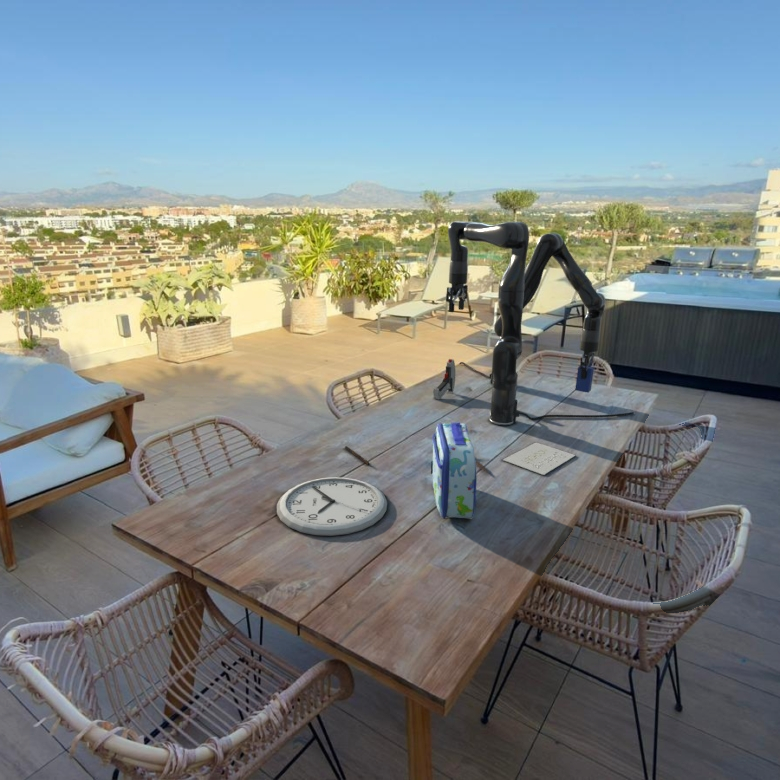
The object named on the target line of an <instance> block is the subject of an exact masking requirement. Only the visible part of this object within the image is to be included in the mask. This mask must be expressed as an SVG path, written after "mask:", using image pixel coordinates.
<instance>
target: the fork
mask: <svg viewBox="0 0 780 780" xmlns="http://www.w3.org/2000/svg"><path fill="white" fill-rule="evenodd" d="M475 461H476V466H477V467H479V468H480V469H481V470H482V471H483V472H485V473H486V474H488V470H486V468H485V467H484V466H483V464H482V463H480V462H479V461H477V460H476V459H475Z"/></svg>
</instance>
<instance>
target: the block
mask: <svg viewBox="0 0 780 780" xmlns="http://www.w3.org/2000/svg"><path fill="white" fill-rule="evenodd" d="M583 367H584V368H585V366H583ZM594 370H595V367H594V366H591V367H589V366H588V370H587V375H586V379H581V371H582V370H580V365H578V367H577V373H576V381H575V388H574V391H578V392H583V393H590V392H591V390H592V384H593V377H594Z"/></svg>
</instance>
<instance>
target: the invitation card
mask: <svg viewBox="0 0 780 780" xmlns="http://www.w3.org/2000/svg"><path fill="white" fill-rule="evenodd" d="M576 456H577V455H576V454H573V453H570V452H567V451H565V450H561V449H558V448H555V447H552V446H549V445H546V444H543V443H539V442H534V443H532V444H529V445H528V446H526V447H524V448H522V449H520V450H518V451H516V452H514V453H512V454H510V455H509V456H507V457H505V458H503V459H502V461H503V462H506V463H509V464H511V465H514V466H518V467H520V468H523V469H525V470H528V471H531V472H534V473H536V474H539V475H541V476H545V475H547V474H548V473H550V472H552V471H554V469H556V468H558V467H559V466H561V465H563V464H564V463H566V462H568V461H570V460H571V459H572V458H574V457H576Z"/></svg>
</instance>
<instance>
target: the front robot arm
mask: <svg viewBox="0 0 780 780" xmlns="http://www.w3.org/2000/svg"><path fill="white" fill-rule="evenodd" d="M447 238H448V242H449V248H450V263H449V268H448V270H449V271H448V272H449V273H448V283H449V284H451V286H447V287H446V297H445V302H447V303H448V312H449V313H454V312H455V302H456V300H457V299H458V310H460V311H463V310H464V309H465V301H466V300H467V299H468V292H469V291H468V289H469V287H468V285H467V283H468V272H469V271H468V270H469V269H468V268H469V265H468V259H469V248H468V247H467V246H465V245H462V244H461V241H469V242H475V243H486V244H490V245H493V246H496V247H498V248H501V249H504V250H510V251H511V252H510V261H509V263H508V267H507V268H506V271H505V272H504V274H503V276H502V277H501V279H500V282H499V285H498V290H497V291H498V293H497V305H498V311H499V316H500V315H501V319H502V337H501V341H500V342H498V341H497V342H498V343H497V342H496V343H497V344H496V343H495V345H494V346H493V350H492V358H491V359H492V361H491V362H492V363H491V373H493V384H492V388H491V399H490V410H489V422H490V423H491V424H494V425H497V426H511V425H513V424H516V423H517V418H519V417H520V415H521V416H524V417H526V418H527V419H528V420H530V421H537V420H540V419H544V418H611V417H612V418H613V417H622V416H630V415H635V412H634V411H631V412H624V413H614V414H588V415H587V414H543V415H540V416H537V417H531V416H530V415H529V414H527V413H525V412H522V411H520V410H518V399H517V388H518V377H519V376H518V372H517V361H518V359H519V358H520V357H521V355H522V354H523V338H522V321H523V311H524V308H523V300H524V277H525V268H526V263H527V255H528V250H529V244H530V243H529V241H530V230H529V227H528V225H527V224H526V223H525V222H522V221H506V222H503V223H497V224H492V225H489V224H486V223H482V222H470V221H452V222H450V224H449V225H448V227H447Z"/></svg>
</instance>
